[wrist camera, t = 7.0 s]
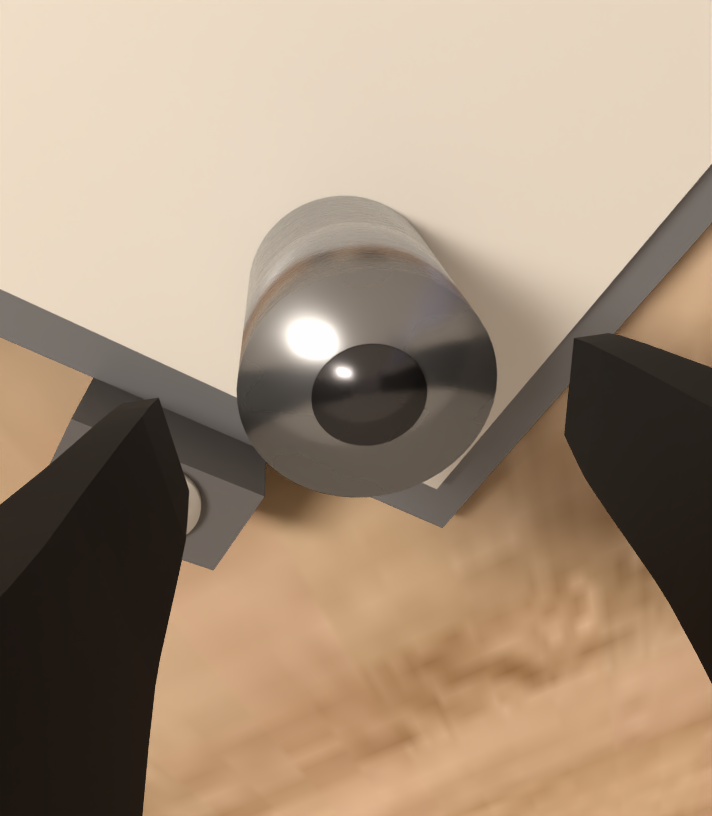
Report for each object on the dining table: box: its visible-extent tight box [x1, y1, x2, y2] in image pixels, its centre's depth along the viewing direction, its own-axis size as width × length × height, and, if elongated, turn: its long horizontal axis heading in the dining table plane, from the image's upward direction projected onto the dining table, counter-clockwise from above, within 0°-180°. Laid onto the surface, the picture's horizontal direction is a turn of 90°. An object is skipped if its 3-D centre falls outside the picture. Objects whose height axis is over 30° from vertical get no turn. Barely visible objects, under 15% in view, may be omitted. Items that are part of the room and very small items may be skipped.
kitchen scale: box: [0, 0, 712, 570], centre depth 13 cm, size 18×21×3 cm
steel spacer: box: [236, 196, 497, 497], centre depth 12 cm, size 4×4×5 cm
